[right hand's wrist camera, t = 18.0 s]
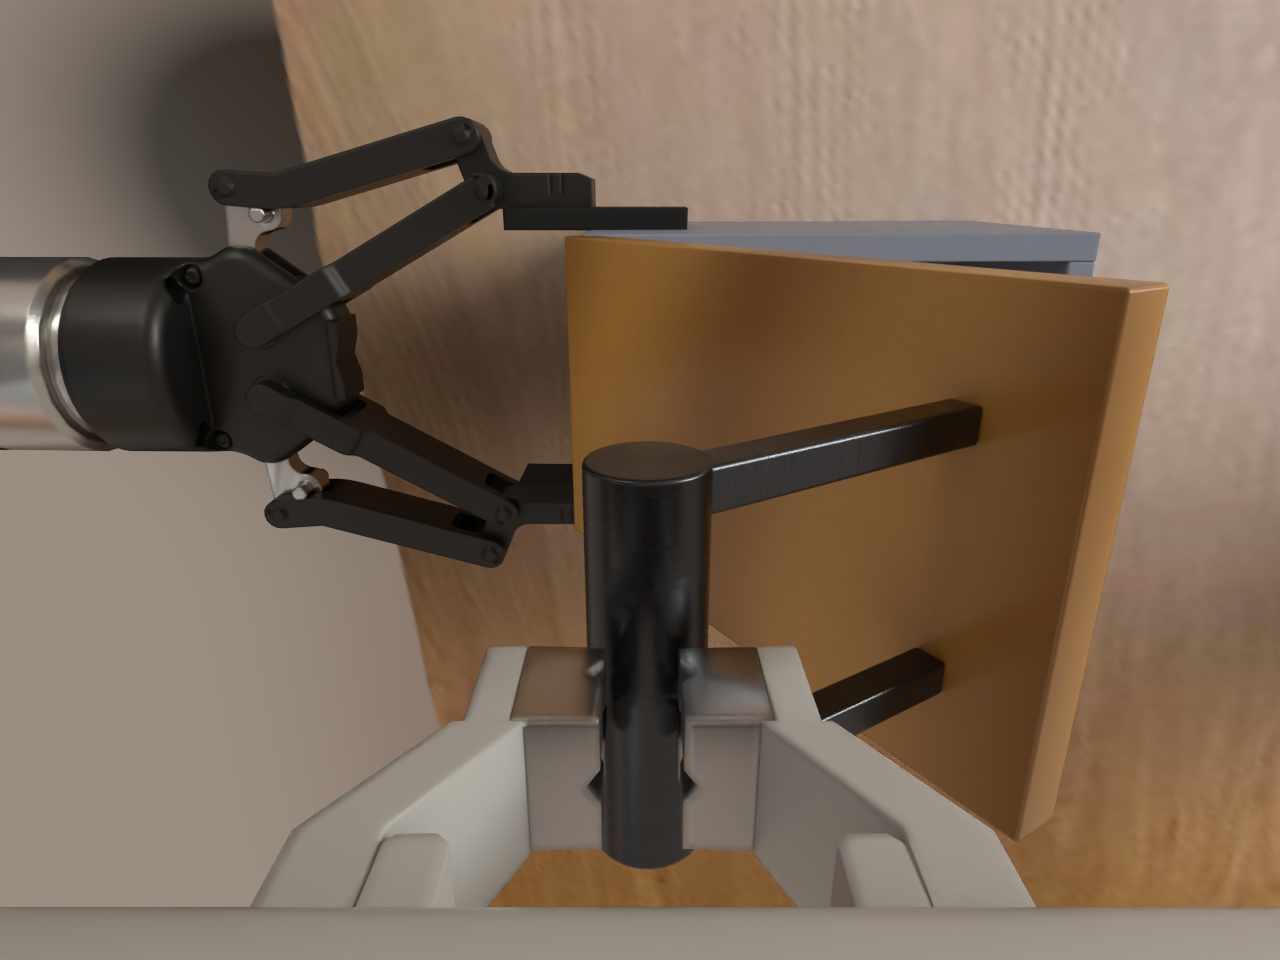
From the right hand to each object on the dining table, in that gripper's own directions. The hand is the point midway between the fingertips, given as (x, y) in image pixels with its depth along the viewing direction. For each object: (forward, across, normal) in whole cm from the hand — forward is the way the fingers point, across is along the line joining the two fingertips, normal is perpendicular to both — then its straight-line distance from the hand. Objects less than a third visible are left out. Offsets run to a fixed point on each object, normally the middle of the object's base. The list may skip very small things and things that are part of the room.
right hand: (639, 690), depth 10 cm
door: (+10, -3, 0) cm, 10 cm away
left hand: (+22, -2, 0) cm, 22 cm away
